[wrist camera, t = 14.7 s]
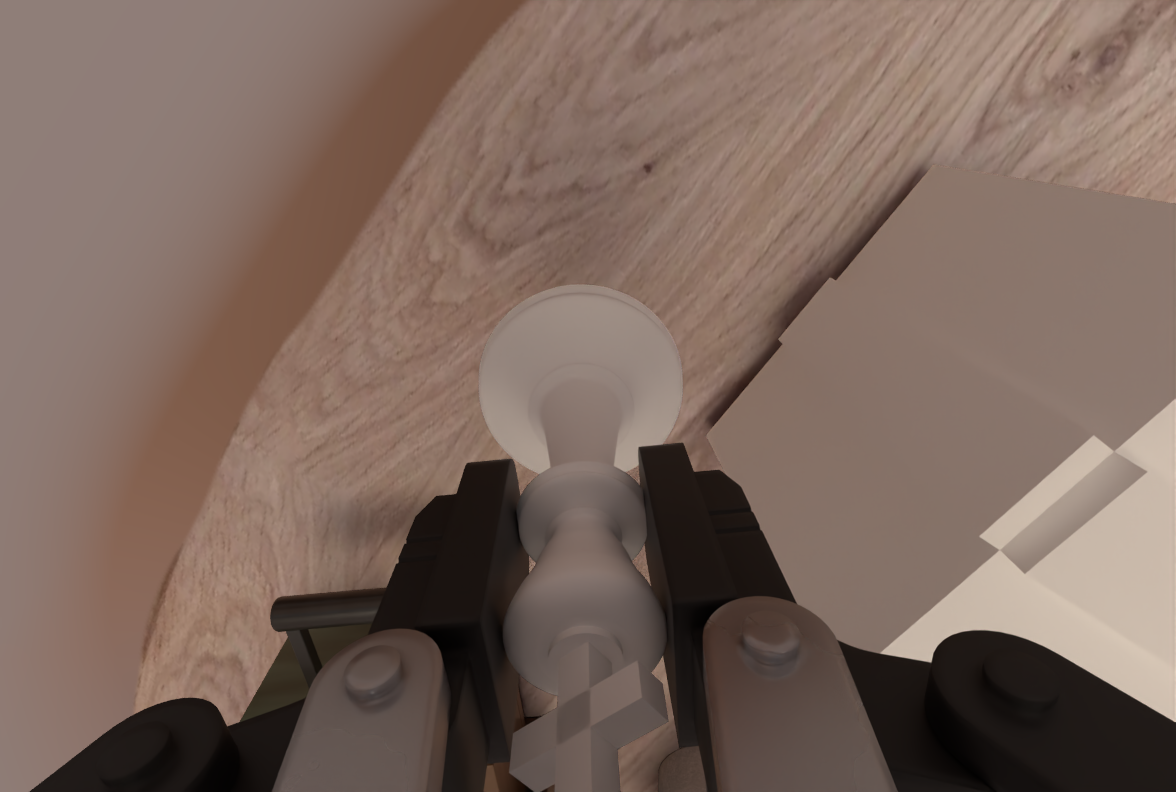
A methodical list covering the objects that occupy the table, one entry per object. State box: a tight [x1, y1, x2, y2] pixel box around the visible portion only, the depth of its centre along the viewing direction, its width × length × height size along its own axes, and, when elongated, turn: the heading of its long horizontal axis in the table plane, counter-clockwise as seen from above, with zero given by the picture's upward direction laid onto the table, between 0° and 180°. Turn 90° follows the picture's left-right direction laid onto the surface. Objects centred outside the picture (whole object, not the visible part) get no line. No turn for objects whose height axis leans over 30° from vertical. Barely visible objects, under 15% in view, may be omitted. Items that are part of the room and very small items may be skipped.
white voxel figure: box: [706, 165, 1176, 722], centre depth 23 cm, size 15×25×28 cm
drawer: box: [240, 587, 533, 792], centre depth 30 cm, size 19×12×7 cm, turn 5°
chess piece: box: [479, 284, 683, 792], centre depth 10 cm, size 5×5×10 cm
